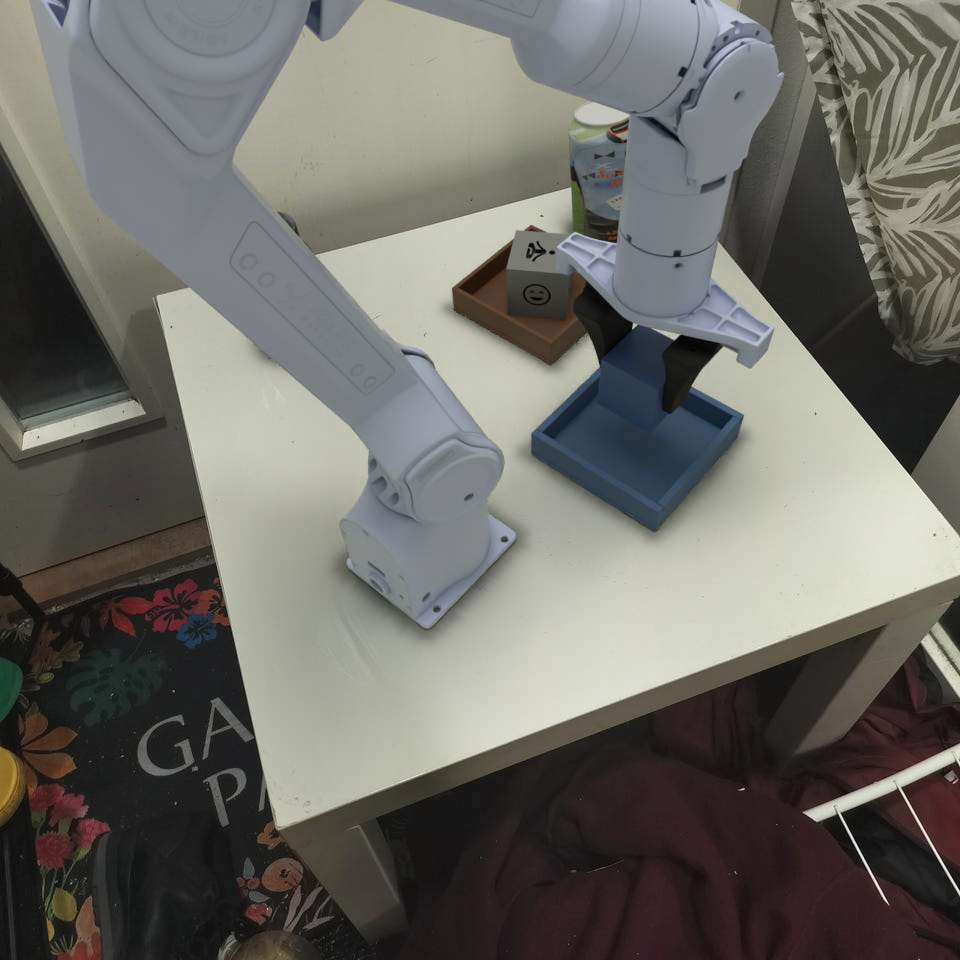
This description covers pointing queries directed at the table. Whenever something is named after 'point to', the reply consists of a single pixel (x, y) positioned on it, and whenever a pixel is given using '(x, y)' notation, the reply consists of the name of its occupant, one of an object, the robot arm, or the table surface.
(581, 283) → the walnut tray
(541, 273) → the dice cube
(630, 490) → the blue tray
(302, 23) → the robot arm
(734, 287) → the table surface
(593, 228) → the beverage can
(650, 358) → the blue block
